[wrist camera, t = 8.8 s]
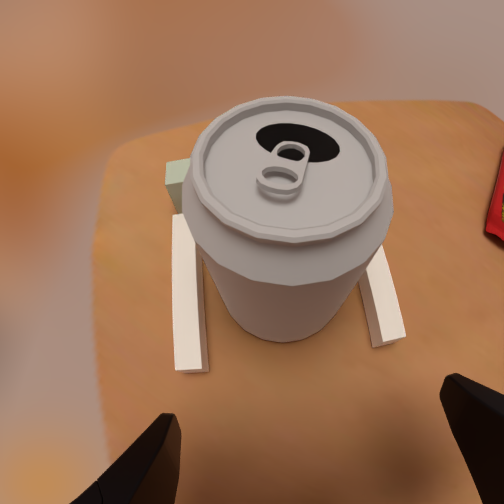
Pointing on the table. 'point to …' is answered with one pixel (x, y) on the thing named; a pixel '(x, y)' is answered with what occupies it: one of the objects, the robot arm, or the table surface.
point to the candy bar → (497, 206)
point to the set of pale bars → (192, 296)
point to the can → (286, 211)
